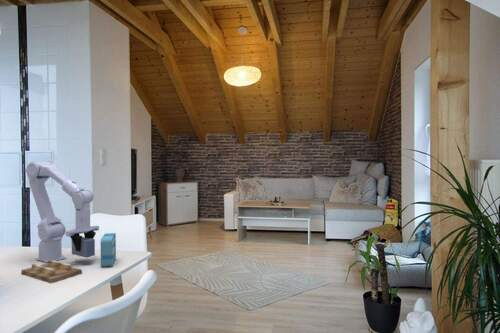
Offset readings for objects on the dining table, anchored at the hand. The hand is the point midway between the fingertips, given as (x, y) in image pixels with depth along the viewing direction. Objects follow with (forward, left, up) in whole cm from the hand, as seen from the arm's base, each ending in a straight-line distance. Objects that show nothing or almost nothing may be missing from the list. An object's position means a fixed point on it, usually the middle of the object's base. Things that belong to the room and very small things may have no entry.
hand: (83, 249), depth 149 cm
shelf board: (+2, -15, -6) cm, 16 cm away
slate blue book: (0, 0, -2) cm, 2 cm away
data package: (+10, +5, -6) cm, 13 cm away
